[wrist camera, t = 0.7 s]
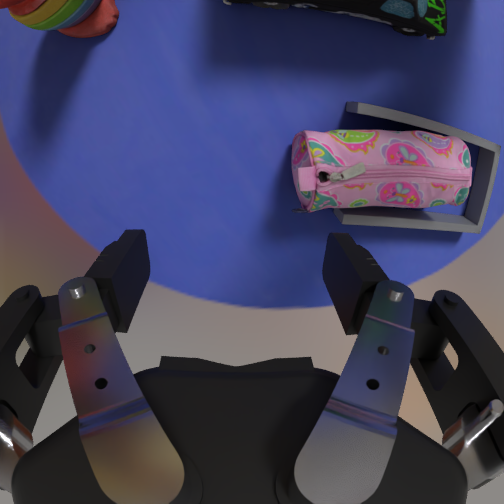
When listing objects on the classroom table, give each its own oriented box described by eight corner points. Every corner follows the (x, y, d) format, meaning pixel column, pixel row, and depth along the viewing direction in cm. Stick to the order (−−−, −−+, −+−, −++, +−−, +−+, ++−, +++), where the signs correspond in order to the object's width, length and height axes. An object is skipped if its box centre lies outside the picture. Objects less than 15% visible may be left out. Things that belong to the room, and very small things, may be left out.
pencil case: (285, 199, 34) (299, 232, 26) (282, 123, 30) (297, 131, 22) (433, 194, 34) (472, 221, 26) (439, 130, 30) (484, 145, 22)
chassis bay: (346, 101, 28) (358, 102, 25) (485, 140, 29) (500, 146, 26) (333, 212, 35) (342, 224, 32) (466, 223, 36) (479, 233, 33)
